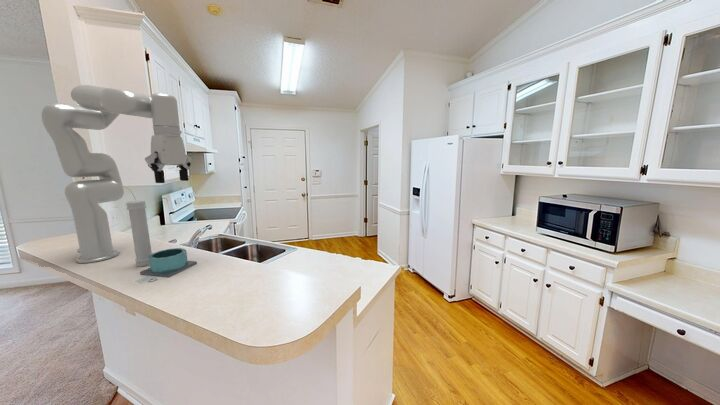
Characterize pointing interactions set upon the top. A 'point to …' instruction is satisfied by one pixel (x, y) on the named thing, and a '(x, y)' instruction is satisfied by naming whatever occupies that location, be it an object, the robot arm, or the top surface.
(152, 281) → the mounting bracket
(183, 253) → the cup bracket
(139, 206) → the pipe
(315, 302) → the top surface
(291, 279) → the top surface
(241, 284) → the top surface
